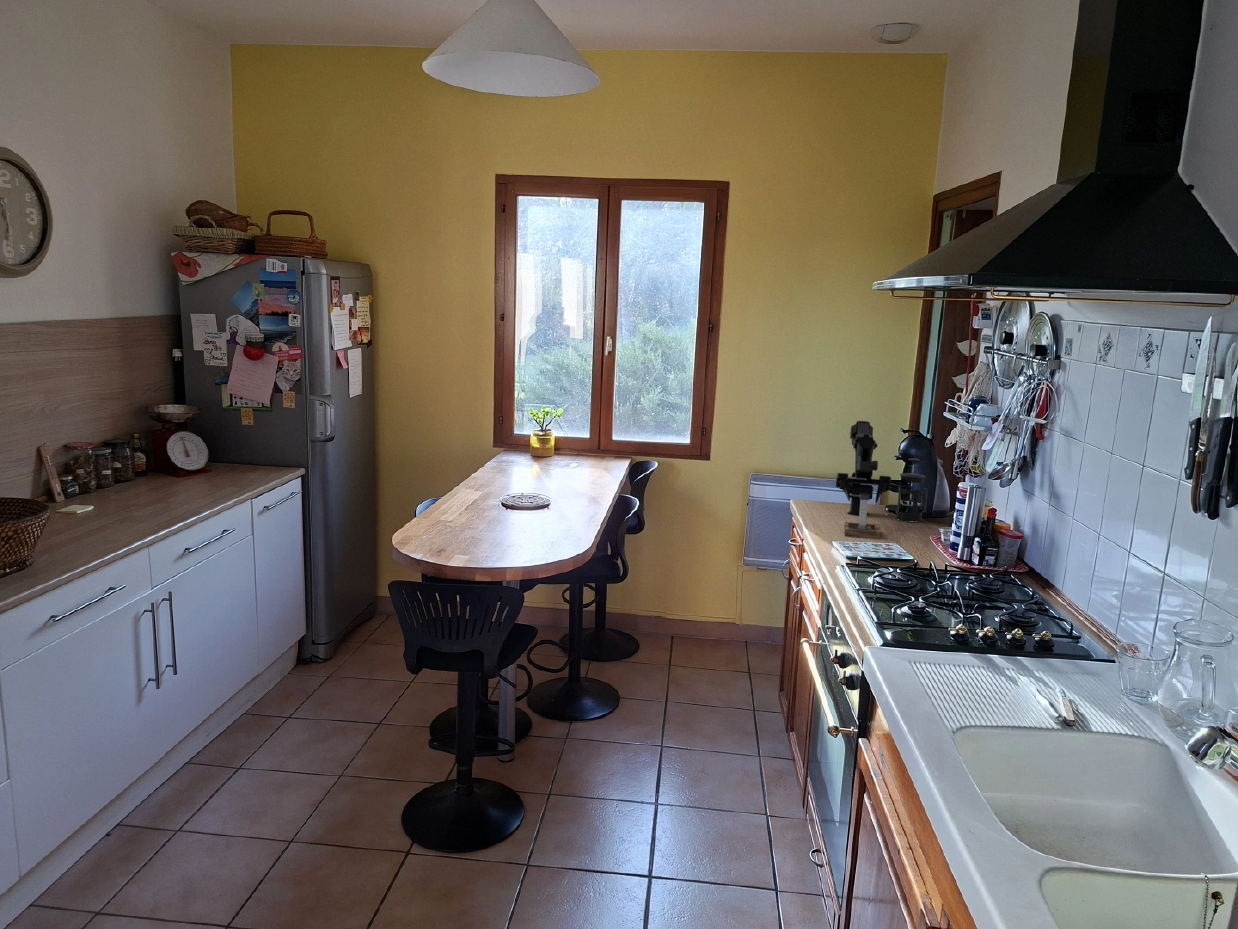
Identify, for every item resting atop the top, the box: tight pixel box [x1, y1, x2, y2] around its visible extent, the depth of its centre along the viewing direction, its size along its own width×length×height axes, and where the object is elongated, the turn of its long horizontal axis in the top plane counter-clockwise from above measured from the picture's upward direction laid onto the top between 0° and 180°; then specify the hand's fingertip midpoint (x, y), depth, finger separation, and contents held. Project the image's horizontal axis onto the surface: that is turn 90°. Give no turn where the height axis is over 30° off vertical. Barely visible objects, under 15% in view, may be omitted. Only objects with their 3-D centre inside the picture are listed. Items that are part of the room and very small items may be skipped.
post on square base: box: [852, 493, 871, 530], centre depth 298 cm, size 6×6×13 cm
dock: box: [843, 521, 881, 540], centre depth 299 cm, size 11×11×2 cm
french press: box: [895, 457, 930, 522], centre depth 322 cm, size 12×9×23 cm
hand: (862, 501), depth 305 cm, fingers open, 9 cm apart
